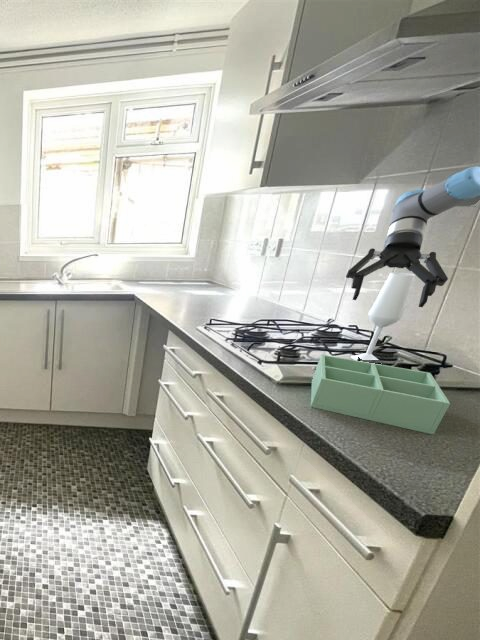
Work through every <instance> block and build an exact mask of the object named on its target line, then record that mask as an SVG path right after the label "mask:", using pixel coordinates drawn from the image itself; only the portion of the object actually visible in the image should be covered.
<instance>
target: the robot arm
mask: <svg viewBox="0 0 480 640" xmlns="http://www.w3.org/2000/svg"><path fill="white" fill-rule="evenodd" d="M479 200H480V166H477V165H475V166H470V167H468V168H466V169H464V170H462V171H459V172H456V173H455V174H452V175H451V176H449V177H448V178H446V179H445V180H442V181H440V182H439V183H437V184H435V185H433V186H432V187H430V188H428V189H422V188H421V189H414V190H412V191H411V190H410V191H409V190H408V191H406V192H405V193H403V194H401V195H400V196H399V197H398V199H397V200H396V202H395V205H394V207H393V210H392V215H391V220H390V224H389V226H388V232H387V233H386V234H387V235H386V239H385V241H384V246H383V249H382V250H381V251H379V250H376V249H375V248H370V249H368V252H367V254H366V255H365V256H364V257H362V258H361V259H360V260H359V261H358V262H357V263H355V264H354V265H353V266H352V267H351V268H350V269H348V271H347V273H346V275H345V278H347V279H352V280H351V281H352V282H351V287H350V288H351V289H354V293H353V297H352V301H357V299H358V298H359V295H360V293H361V289H362V285H363V283H364V278H366V277H367V276H368V275H371V274H372V273H373V272H376V271H378V270H380V269H383V268H385V267H388V268H390V269H391V268H397V269H404V268H405V269H407V271H408V272H412V274H414V275H415V277H417V278H418V279H419V280H420V281H421V282H423V284H424V285H423V286H422V290H421V294H420V298H419V303H418V308H423V307H424V306H425V305H426V304H427V303H428V298H429V297H432V296H433V294H434V293H436V289H437V286H438V287H443V286H444V285H445V284H446V282H447V281H448V280H449V278H448V276H447V274H446V273H445V271H444V269H443V267H442V266H441V264H440V263H439V261H438V260H437V252H436V251H431V252H430V253H422V252H421V249H422V244H423V241H424V236H425V233H426V229H427V224H428V221H429V219H431V218H434V217H436V216H438V215H440V214H442V213H444V212H446V211H449V210H451V209H453V208H455V207H472V206H471V205H474V204H476V203H477V202H478V201H479ZM376 258H379V260H378V261H375V262H374V263H372V264H369V265H368V266H366V265H367V264H368V263H369V262H370V261H371V260H374V259H376ZM420 260H422V262H423V264H425V266H426V267H425V266H424V265H423V264H421V261H420ZM365 266H366V267H365ZM364 267H365V268H364Z"/></svg>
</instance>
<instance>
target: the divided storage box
mask: <svg viewBox="0 0 480 640" xmlns="http://www.w3.org/2000/svg"><path fill="white" fill-rule="evenodd" d="M312 378H313V379H312ZM312 378H311V388H310V389H311V391H310V408H313V409H318V410H322V411H327V412H332V413H336V414H341V415H345V416H349V417H354V418H357V419H362V420H367V421H371V422H375V423H381V424H384V425H389V426H394V427H398V428H402V429H407V430H409V431H410V430H411V431H416V432H420V433H424V434H428V435H432V436H434V435H435V433H436V431H437V429H438V427H439V425H440V423H441V422H442V420H443V418H444V416H445V414H446V413H447V410H448V409H449V407H450V405H451V402H450V401H449V399H448V398H447V396H446V395H445V393H444V392H443V390H442V388H441V387H440V386H439V384H438V382H437V380H436V379H435V377H434V376H433V374H432V373H431V372H428V371H422V370H416V369H409V368H403V367H397V366H393V365H386V364H382V363H381V364H375V363H369V362H363V361H357V360H354V359H352V358H351V359H350V358H345V357H338V356H332V355H327V354H320V357H319V359H318V362H317V365H316V367H315V370H314V373H313V375H312Z"/></svg>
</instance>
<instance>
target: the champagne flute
mask: <svg viewBox="0 0 480 640" xmlns="http://www.w3.org/2000/svg"><path fill="white" fill-rule="evenodd" d="M415 277H416V275H415V274H414V273H408V272H395V271H394V272H389V274H388V276H387V278H386V279H385V282H384V284H383V286H382V287H381V288H380V291H379V293H378V295H377V297H376V299H375V300H374V302H373V304H372V305H371V308H370V310H369V311H368V317H369V319H370V321H371V322H372V323H373V325H374V326H376V328H375V331H374V333H373V335H372V338H371V340H370V343H369V345H368V347H367V349H366V352H364V353H360V354H356V355H351V356H350V358H351V360H357V359H358V357H359V358H360V359H362V360H379V359H378V357H376V356H375V355H373V351H374V350H375V347H376V344H377V342H378V340H379V337H380V335H381V333H382V330H383V328H386V327H389V326H392V325H394V324H396V323H397V322H399V321H401V320H402V318H403V316H404V313H405V310H406V307H407V303H408V300H409V297H410V294H411V290H412V287H413V284H414V282H415V281H414V280H415Z"/></svg>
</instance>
